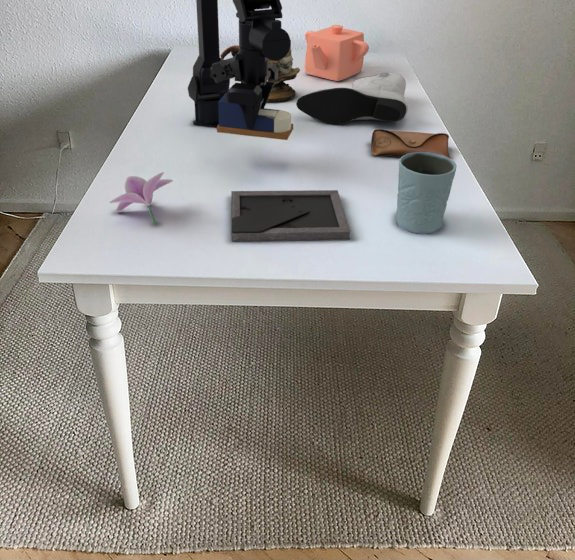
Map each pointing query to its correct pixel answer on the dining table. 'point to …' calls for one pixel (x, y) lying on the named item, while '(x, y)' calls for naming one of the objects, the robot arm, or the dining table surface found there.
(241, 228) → the picture frame
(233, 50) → the pottery mug
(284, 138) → the toy high-top shoe
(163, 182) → the lily
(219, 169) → the dining table surface
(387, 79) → the cowboy boot
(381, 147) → the sunglasses case
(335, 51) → the teapot
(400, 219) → the green embossed cup
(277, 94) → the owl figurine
